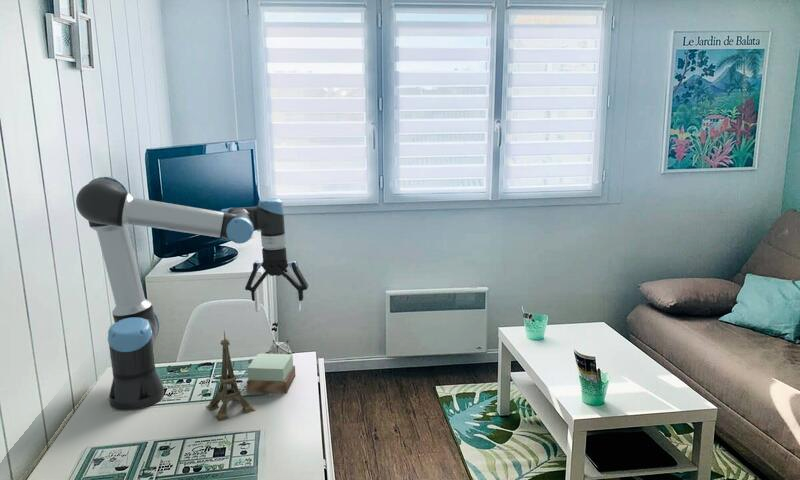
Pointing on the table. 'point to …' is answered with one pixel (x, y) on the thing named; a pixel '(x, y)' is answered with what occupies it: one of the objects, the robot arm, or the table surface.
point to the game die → (280, 348)
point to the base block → (271, 384)
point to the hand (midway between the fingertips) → (278, 310)
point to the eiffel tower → (226, 392)
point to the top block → (270, 367)
